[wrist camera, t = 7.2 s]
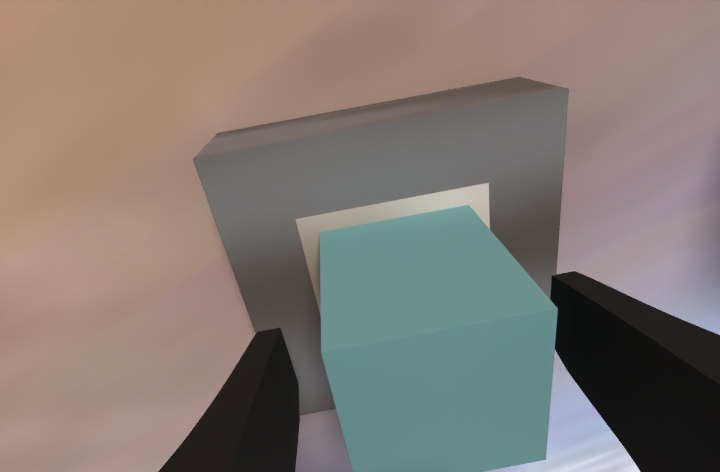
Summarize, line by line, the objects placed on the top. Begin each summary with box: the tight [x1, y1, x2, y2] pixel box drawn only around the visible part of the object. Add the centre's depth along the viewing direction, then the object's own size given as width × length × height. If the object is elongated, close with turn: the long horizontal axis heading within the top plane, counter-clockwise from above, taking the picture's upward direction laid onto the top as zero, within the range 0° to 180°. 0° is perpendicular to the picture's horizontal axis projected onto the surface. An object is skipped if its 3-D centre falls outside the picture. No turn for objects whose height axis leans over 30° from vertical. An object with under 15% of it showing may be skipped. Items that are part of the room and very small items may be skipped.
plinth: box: [193, 77, 569, 415], centre depth 14 cm, size 10×10×3 cm
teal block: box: [320, 205, 558, 472], centre depth 11 cm, size 4×4×5 cm
